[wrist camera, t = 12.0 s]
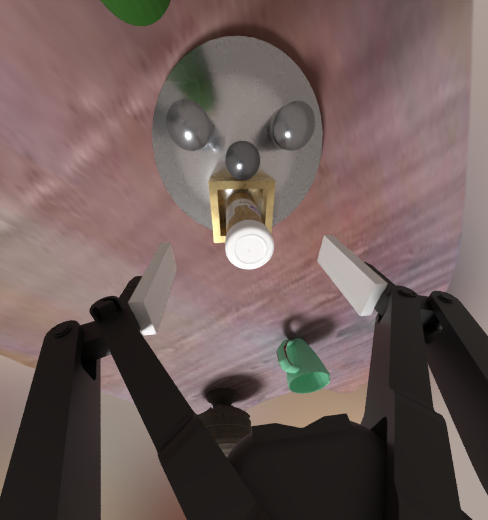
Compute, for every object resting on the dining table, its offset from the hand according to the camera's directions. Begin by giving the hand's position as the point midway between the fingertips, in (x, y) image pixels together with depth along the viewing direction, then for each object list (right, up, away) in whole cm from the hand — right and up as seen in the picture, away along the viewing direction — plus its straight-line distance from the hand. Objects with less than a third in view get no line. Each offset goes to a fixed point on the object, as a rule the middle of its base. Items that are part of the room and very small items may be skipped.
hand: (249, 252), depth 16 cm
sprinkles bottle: (-1, +7, +12) cm, 14 cm away
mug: (+12, -22, +34) cm, 42 cm away
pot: (-8, -47, +48) cm, 67 cm away
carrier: (-1, +14, +10) cm, 17 cm away
